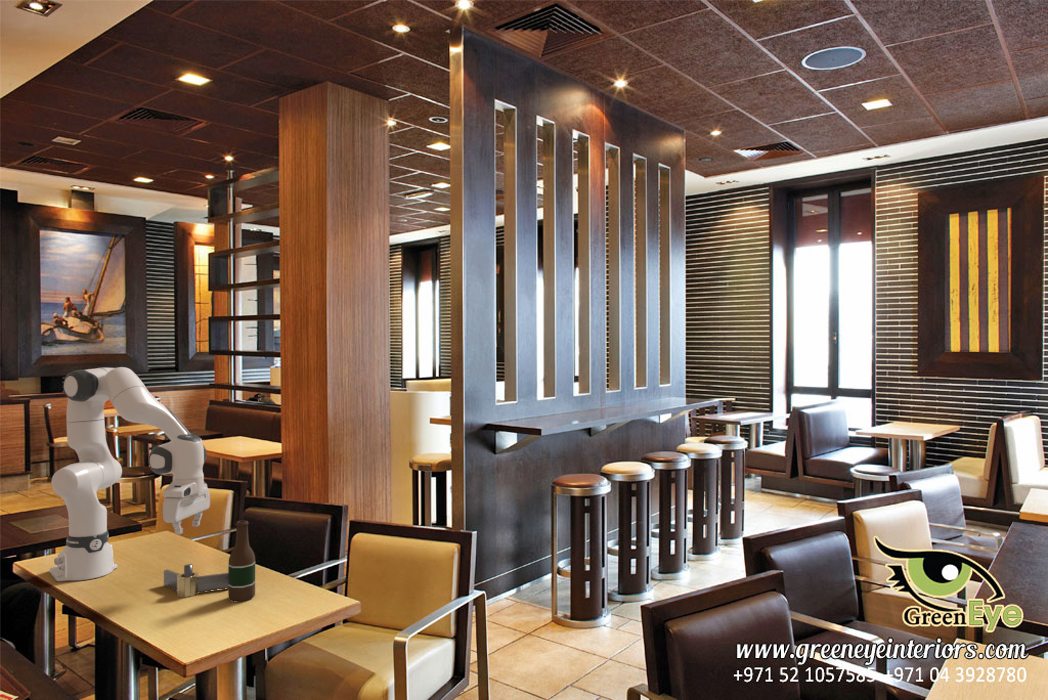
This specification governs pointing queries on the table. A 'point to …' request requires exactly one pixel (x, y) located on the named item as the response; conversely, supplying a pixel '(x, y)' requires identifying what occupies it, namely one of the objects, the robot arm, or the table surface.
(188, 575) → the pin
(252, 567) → the beer bottle
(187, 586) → the hinge
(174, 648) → the table surface
